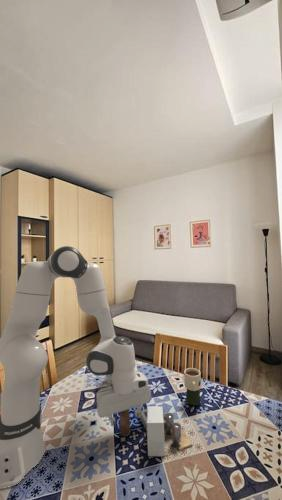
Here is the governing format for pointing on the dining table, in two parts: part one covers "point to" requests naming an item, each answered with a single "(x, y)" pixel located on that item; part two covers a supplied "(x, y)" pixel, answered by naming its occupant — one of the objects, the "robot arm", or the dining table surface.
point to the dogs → (176, 433)
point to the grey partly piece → (144, 418)
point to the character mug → (192, 385)
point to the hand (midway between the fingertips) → (125, 419)
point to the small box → (155, 431)
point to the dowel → (125, 423)
